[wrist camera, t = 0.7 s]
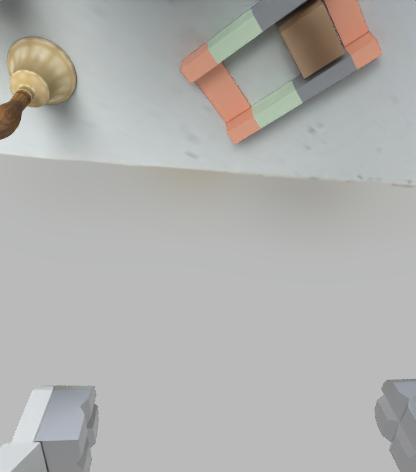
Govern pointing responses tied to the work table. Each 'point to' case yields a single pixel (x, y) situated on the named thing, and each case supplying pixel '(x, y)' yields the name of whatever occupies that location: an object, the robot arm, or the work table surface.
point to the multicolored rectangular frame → (294, 92)
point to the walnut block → (310, 37)
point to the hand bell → (35, 79)
